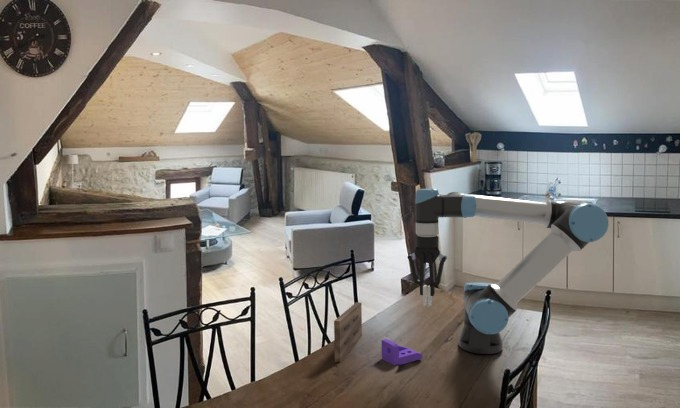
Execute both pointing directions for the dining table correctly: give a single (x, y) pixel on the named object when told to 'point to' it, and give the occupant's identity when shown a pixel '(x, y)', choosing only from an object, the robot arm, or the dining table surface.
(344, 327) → the upright wooden plank
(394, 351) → the bracket
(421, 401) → the dining table surface
